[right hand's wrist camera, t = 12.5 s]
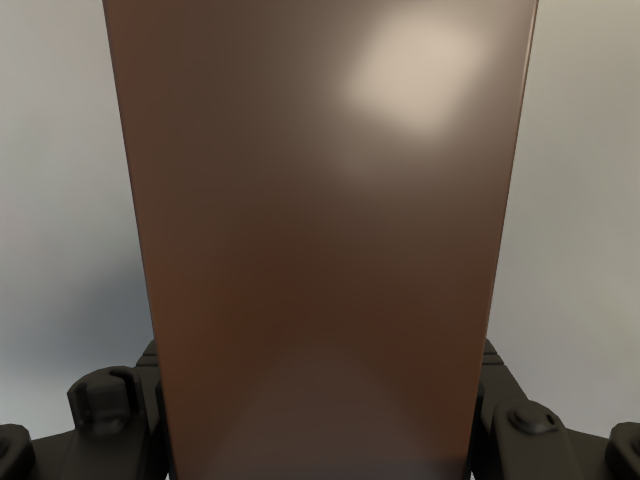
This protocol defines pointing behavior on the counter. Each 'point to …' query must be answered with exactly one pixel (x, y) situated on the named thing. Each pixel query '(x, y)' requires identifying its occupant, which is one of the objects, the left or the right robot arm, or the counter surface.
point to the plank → (320, 223)
